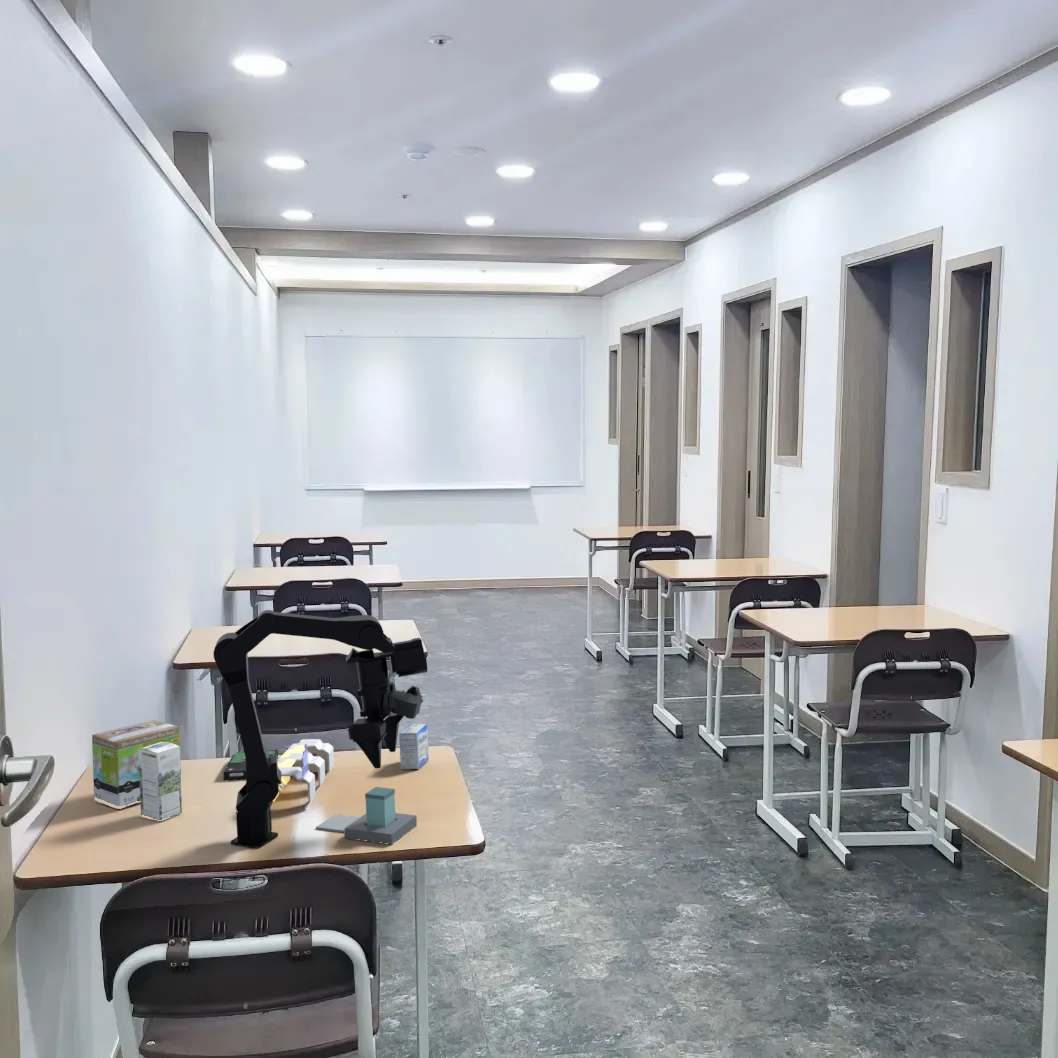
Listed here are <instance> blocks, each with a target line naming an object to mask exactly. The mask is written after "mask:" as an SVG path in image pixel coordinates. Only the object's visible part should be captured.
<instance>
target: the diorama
mask: <svg viewBox="0 0 1058 1058" xmlns="http://www.w3.org/2000/svg"><path fill="white" fill-rule="evenodd" d="M334 749H335V748H334V746H333V745H331V743H329V742H323V741H322V740H321V738H320V739H317V738H316V739H314V738H313V739H307V738H305V739H301V740H300V741H299V742H298V743H292V744H291V745H290V746H288V747H287V748H286V750H285V751H284V752H283V754H282V755H281V756H279V758H278V760H277V764H278V767H279V769H280V771H281V772H282V777H281V784H279V791H278V795H277V796H276V798H275V799H274V800H273V801H272V802H270V807H272V805H273V804H274V802H275V801H276V799H277V798H278V797H279V795H280V794H281V793H282V791H283V790H284V789H285V787H286V786H287V784H288V783H289V781H290V780H291V778H293V777H294V778H295V779H296V780H297V781H305V783H307V798H308V800H307V802H306V804H305V805H304V807H303V810H304V809H306V808H307V809H308V808H309V806H308V805H311V803H312V801H313V799H314V797H315V796H316V795H317V793H318V792H319V790H318V789H320V788H321V786H322V784H323V783H324V781H325V780H326V778H327V777H328V775H329V774H330V772H331V771H332V769H333V767H334V765H335V755H334V753H335V752H334ZM310 771H318V772H317V774H318V775H317V778H318V779H317V780H318V785H317V786H316V775H315V774H314V773H313V772H310ZM325 771H327V772H325ZM328 773H329V774H328ZM327 774H328V775H327ZM326 776H327V777H326ZM285 785H286V786H285ZM280 792H281V793H280ZM316 792H317V793H316ZM310 802H311V803H310ZM272 803H273V804H272ZM307 809H306V810H307Z"/></svg>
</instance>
